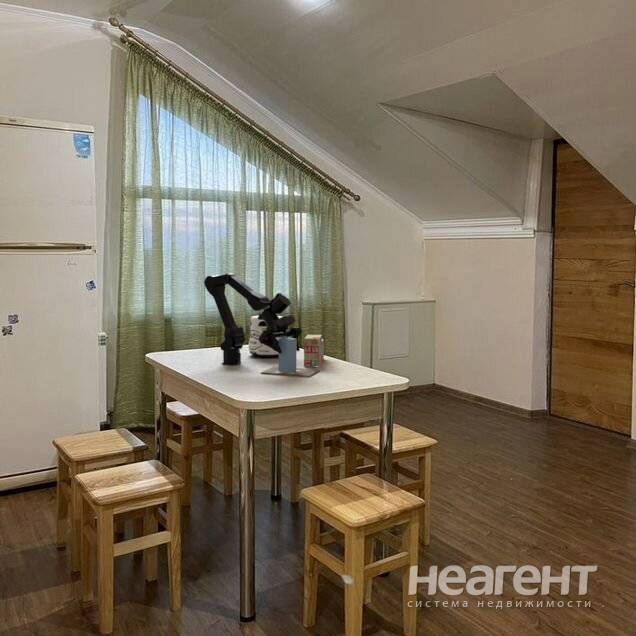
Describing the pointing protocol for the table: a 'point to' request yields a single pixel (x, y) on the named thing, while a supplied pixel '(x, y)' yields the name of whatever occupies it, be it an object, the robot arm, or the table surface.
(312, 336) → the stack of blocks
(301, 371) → the letter board
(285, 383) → the table surface
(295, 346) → the blue pillar
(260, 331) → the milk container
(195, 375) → the table surface
